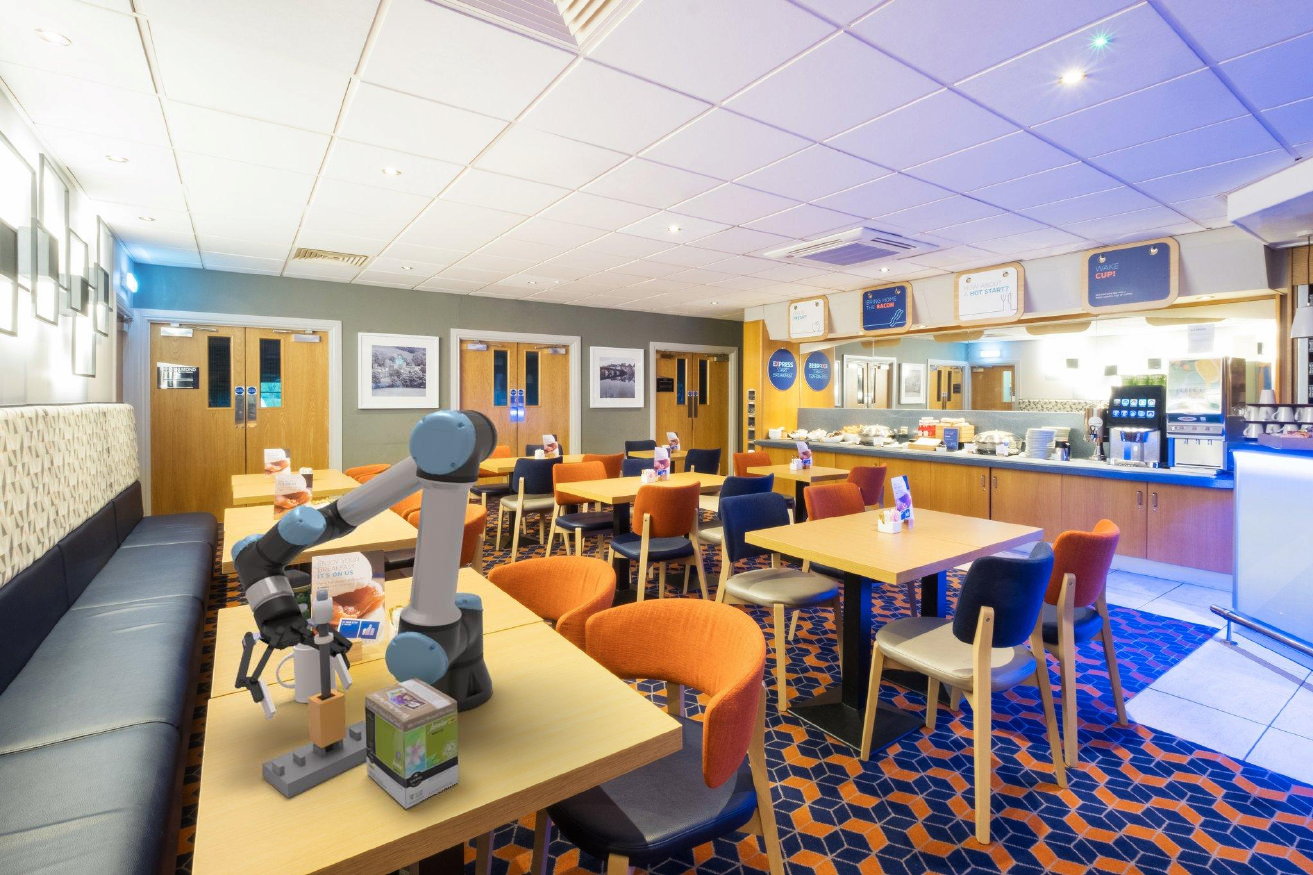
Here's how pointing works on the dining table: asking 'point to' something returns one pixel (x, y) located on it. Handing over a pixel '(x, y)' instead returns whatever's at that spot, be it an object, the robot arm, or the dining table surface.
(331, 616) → the rod stand with pegs
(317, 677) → the mug
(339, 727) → the marker sleeve
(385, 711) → the tea box
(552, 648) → the dining table surface
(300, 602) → the coffee jar
